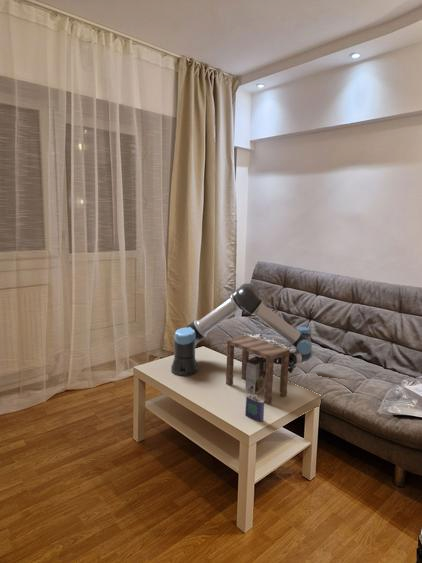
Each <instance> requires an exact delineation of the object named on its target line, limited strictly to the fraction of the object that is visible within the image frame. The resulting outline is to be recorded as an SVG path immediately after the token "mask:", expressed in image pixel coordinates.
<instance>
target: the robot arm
mask: <svg viewBox="0 0 422 563" xmlns="http://www.w3.org/2000/svg"><path fill="white" fill-rule="evenodd" d="M259 295H260V294H259V290H258V287H257V286H256V285H255V284H253V283H250V282H249V283H248V282H247V283H243V284H241V285H240V287H239V288H237V289H236V290H234V291H233V292H231V293H230V297H229V298H228V299H227V300H225V301H224V302H222V303H221V304H220V305H219V306H217V307H216V308H214V309H213V310H212V311H210V312H209V313H207V314H206V315H205V316H203V317H202V318H201V319H199V320H198V319H196V320H193V321H192V322H190V323H188V324H186V326H185V327H181V328H178V329H176V331H175V332H174V335H173V339H174V346H173V347H174V354H173V355H174V357H173V361H172V364H171V367H170V371H171V373H172V374H174V375H176V376H182V377H183V376H192V375H195V374H197V372H199V366H198V363H197V359H196V346H197V344H199V343H200V342H201V341H202V340H204V339H205V338H207V336H208V333H209V332H210V331H212V330H213V329H215V328H216V327H218V326H219V325H220V324H222V323H223V322H224V321H225V320H227V319H228V318H230V317H232V316H233V315H234V314H235V313H237V312H239V311H245V312H247V313H248V314H249V315H250V316H255V317H256V318H257V319H259V320H260V321H261V322H263V323H264V324H265V325H266V326H268V327H269V328H270V329H272V330H273V331H274V332H275V333H276V334H278V335H279V336H280V337H281V338H283V339H284V340H286V341H287V342H288V343H290V344H291V345H292V346H293V347H294V348H295V350H290V354H289V365H288V374H291V373H293V370H294V369H295V368H296V367H297V365H299V364H301V363H304V362H307V361H309V360H312V358H313V355H314V353H313V350H312V348H313V345H312V341H311V328H309V327H306V326H299V327H297V328H295V327H294V326H292V325H291V324H289V323H288V322H287V321H286V320H284V318H282V317H280V316H279V315H278V314H277V313H276V312H274V311H273V310H271V308H270V307H268V306H267V305H265V304H264V302H263V300H262V299H261V298H259ZM260 357H261V356H260ZM261 358H263V359H266V358H264V357H261ZM281 359H282V357H279V358H276V359H274V364H275V365H281ZM278 375H281V367H280V368H276V369H275V376H278Z"/></svg>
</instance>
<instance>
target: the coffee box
mask: <svg viewBox="0 0 422 563" xmlns="http://www.w3.org/2000/svg"><path fill="white" fill-rule="evenodd" d="M265 375H266V359H263V358H261V356H258V355H256V356H253V357H252V358H250V359H249V360H247V361H246V380H245V384H244V385H245V387H244V388H245V389H244V390H245V392H248V393H250V394H251V395H252V394H253V395H257V394H258V393H261V392H262V391H265Z"/></svg>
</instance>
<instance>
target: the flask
mask: <svg viewBox="0 0 422 563" xmlns="http://www.w3.org/2000/svg"><path fill="white" fill-rule="evenodd" d="M257 397H258V395H257V394H253V395H252V394H248V395H246V398H245V399H246V400H245V411H244V412H245V413H244V414H245V416H246V417H247V418H249V419H251V420H253V421H257V422H259V423H263V422H264V420H265V419H264V417H265V416H264V413H265V410H264V409H265V403H264V399H259V398H257Z"/></svg>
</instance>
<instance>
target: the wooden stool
mask: <svg viewBox="0 0 422 563" xmlns="http://www.w3.org/2000/svg"><path fill="white" fill-rule="evenodd" d="M226 344H227V347H226V348H227V349H226V373H225V374H226V376H225V385H226V386H233V383H234V362H235V360H234V359H235V348H237V349H239V350H242V354H241V355H242V356H241V372H240V373H241V377H240V378H241V380H243V381H246V361H247V360H249V358H250V353H251V354H254V355H256V356H257V357H264V358H266V375H265V389H264V394H263V396H264V397H263V398H264V399H263V401H264V405H265V404H266V405H267V406H268V405H271V404H272V401H273V400H272V399H273V384H274V368H275V363H274V359H276V358H279V357H282V359H281V364H280V368H281V374H280V377H279V378H280V379H279V380H280V381H279V394H278V396H279V397H281V398H286V397H287V394H288V393H287V392H288V381H289V380H288V378H289V372H288V368H289V367H288V365H289V354H290V352H291V350H290V349H289V348H287V347H283V346H280V345H277V344H274V343H271V342H268V341H265V340H263V339H262V340H261V339H260V338H257V337H253V336H250V335H247V334H244V335H242V336H237V337H234V338H231V339H227V340H226Z"/></svg>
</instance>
